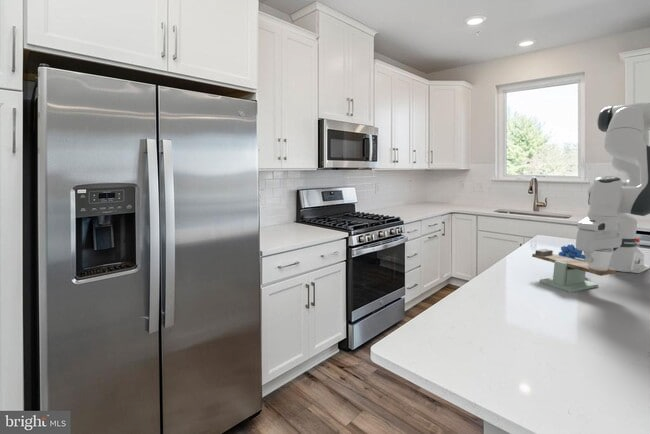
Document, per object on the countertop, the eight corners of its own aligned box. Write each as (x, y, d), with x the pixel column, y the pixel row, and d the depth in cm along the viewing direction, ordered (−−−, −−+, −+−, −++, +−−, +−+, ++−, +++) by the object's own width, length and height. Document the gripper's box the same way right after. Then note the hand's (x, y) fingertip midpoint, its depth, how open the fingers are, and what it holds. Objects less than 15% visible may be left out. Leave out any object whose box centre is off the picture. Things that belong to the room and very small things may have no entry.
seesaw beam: (530, 258, 146) (531, 250, 146) (546, 256, 150) (547, 248, 150) (599, 278, 123) (600, 268, 122) (616, 274, 127) (618, 265, 126)
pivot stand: (566, 277, 146) (569, 254, 145) (598, 286, 135) (601, 262, 134) (539, 282, 140) (541, 258, 138) (570, 292, 129) (573, 267, 128)
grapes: (551, 269, 157) (553, 242, 155) (560, 267, 159) (563, 241, 158) (579, 277, 146) (582, 248, 144) (588, 275, 149) (592, 247, 147)
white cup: (614, 271, 123) (617, 252, 122) (592, 270, 125) (594, 251, 124) (603, 266, 130) (605, 247, 129) (582, 264, 131) (584, 246, 130)
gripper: (610, 220, 132) (605, 256, 134) (574, 223, 124) (569, 261, 127) (630, 222, 126) (624, 260, 129) (593, 226, 119) (588, 266, 121)
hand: (597, 261), depth 128 cm, fingers open, 8 cm apart
